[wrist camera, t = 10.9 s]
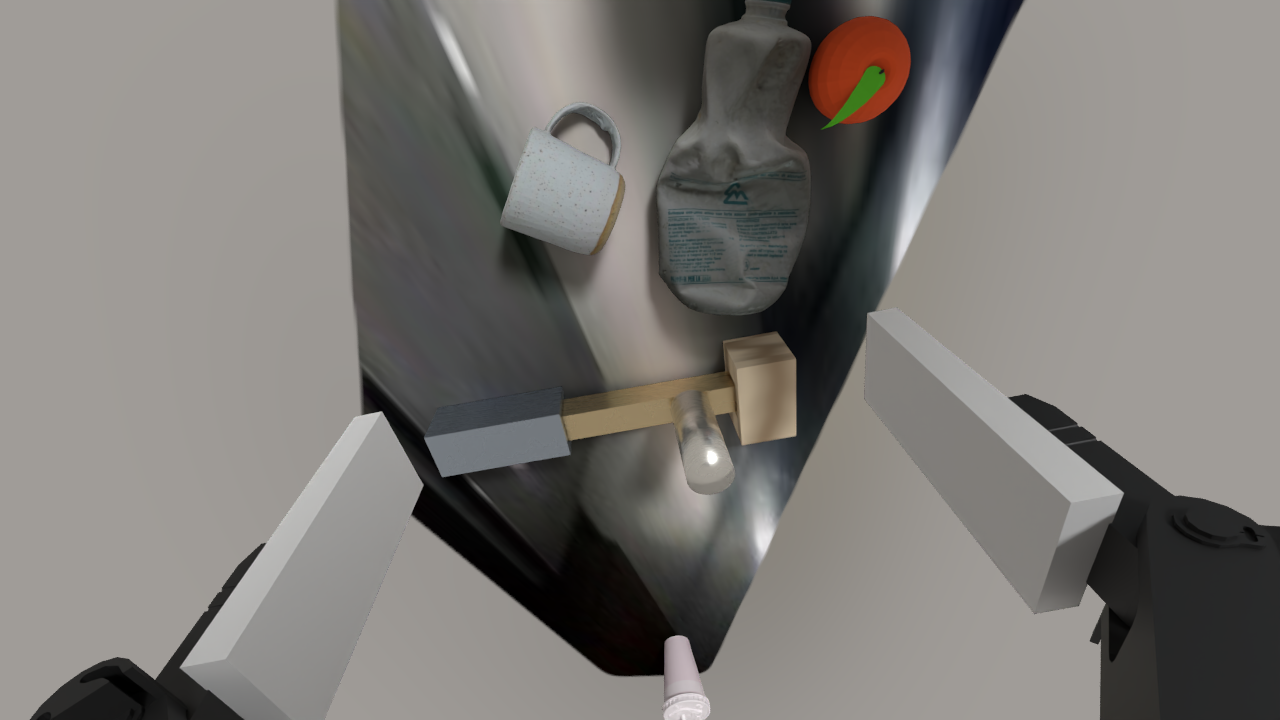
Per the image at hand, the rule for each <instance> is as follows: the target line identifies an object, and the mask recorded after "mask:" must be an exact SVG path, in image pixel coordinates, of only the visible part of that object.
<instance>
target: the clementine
mask: <svg viewBox="0 0 1280 720" xmlns="http://www.w3.org/2000/svg"><path fill="white" fill-rule="evenodd" d="M910 64H911V59H910V49H909V46H908V43H907V40H906V38H905V37H904V35H903V34H902V32H901V31H900V30H899V28H898V27H897V26H896V25H894V24H893V23H892V22H890V21H889V20H887V19H883V18H879V17H874V16H865V17H857V18H854V19H852V20H849V21H847V22H845V23H843V24H841V25H840V26H838V27H837V28H836V29H834V30H833V31H831V32H830V33H829V34H828V35H827V36H826V38H825V39H824V40H823V41H822V42H821V43H820V45H819V47H818V49H817V50H816V52H815V54H814V56H813V59H812V62H811V66H810V69H809V80H808V84H809V91H810V96H811V98H812V100H813V103H814V105H815V106H816V108H817V109H818V110H819V111H820V112H821V113H822V114H823V115H824V116H826V117H828V118H829V119H831V121H830V123H829V124H827V125H826V126H825V127H823V128H822V129H825V128H829V127H832V126H833V125H835V124H837V123H843V124H853V123H862V122H865V121H868V120H870V119H873V118H875V117H876V116H878V115H879V114H881V113H882V112H884V111H885V110H886V109H887V108H888V107H889V106H890V105H891V104H892V103H893V102H894V101H895V100H896V99H897V98H898V96H899V95H900V93H901V91H902V90H903V88H904V86H905V84H906V81H907V78H908V76H909V70H910ZM822 129H821V130H822Z"/></svg>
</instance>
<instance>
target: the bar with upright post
mask: <svg viewBox="0 0 1280 720" xmlns="http://www.w3.org/2000/svg"><path fill="white" fill-rule="evenodd" d="M736 411H737V403H736V390H735V384H734V381H733V379H732V377H731V375H730V373H729V371H724V372H718V373H713V374H707V375H701V376H695V377H690V378H684V379H678V380H673V381H667V382H661V383H655V384H650V385H644V386H638V387H633V388H627V389H621V390H616V391H610V392H604V393H598V394H593V395H587V396H581V397H576V398H570V399H564V400H563V401H562V412H561V417H562V421H563V424H564V428H565V431H566V435H567V438H568V441H570V440H576V439H581V438H587V437H593V436H598V435H604V434H610V433H616V432H621V431H627V430H633V429H639V428H644V427H650V426H656V425H661V424H667V423H673V424H674V428H675V432H676V437H677V441H678V445H679V449H680V454H681V458H682V462H683V467H684V471H685V475H686V480H687V483H688V485H689V487H690V488H691V489H692V490H693V491H695V492H697V493H700V494H705V495H710V494H716V493H719V492H721V491H723V490H725V489H726V488H728V487H729V486H730V485H731V483H732V482H733V480H734V477H735V469H734V467H733V464H732V461H731V458H730V455H729V453H728V450H727V447H726V444H725V442H724V439H723V436H722V433H721V430H720V428H719V425H718V422H717V419H716V417H715V415H719V414H724V413H730V412H736Z"/></svg>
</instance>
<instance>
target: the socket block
mask: <svg viewBox="0 0 1280 720" xmlns="http://www.w3.org/2000/svg"><path fill="white" fill-rule="evenodd" d="M723 349H724V361H725V371H729V373H730V375H731V377H732V379H733V381H734V384H735V390H736V403H737V411H736V412H730V413H729V414H730V417H731V419H732V422H733V424H734V427H735V429H736V432H737V434H738V437H739V439H740V442H741V444H742V445H747V444H753V443H759V442H764V441H770V440H776V439H781V438H787V437H793V436H796V358H795V357H794V355H793V354H792V352H791V351H790V350H789V348H788V347H787V345H786V344H785V343H784V341H783V340H782V338H781V337H780V336H779V334H778V333H777V331H776V332H770V333H765V334H759V335H753V336H748V337H742V338H736V339H730V340H725V341H723Z"/></svg>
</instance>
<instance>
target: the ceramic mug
mask: <svg viewBox="0 0 1280 720" xmlns="http://www.w3.org/2000/svg"><path fill="white" fill-rule="evenodd" d="M570 113H578V114H582V115H584V116H586V117H587V118H589V119H590V120H592V121H594V122H595V123H597V124H598V125H599V126H600V127H601V129H602V130H604V131H608V133H609V134H610V136H611V141H612V144H613V149H612V158H611V162H610V165H607V164H605V163H603V162H602V161H600V160H598V159H595V158H593V157H591V156H589V155H587V154H585V153H583V152H581V151H579V150H577V149H576V148H574V147H572V146H570V145H569V144H567V143H565V142H563V141H561V140H559V139H557V138H555V137H553V136H551V134H550V132H551V130H552V129H553V127H554V126H555V125H556V124H557V122H558V121H559V120H560V119H561V118H563V117H564V116H566V115H568V114H570ZM620 150H621V140H620V135H619V132H618V129H617V127H616V125H615V123H614V121H613V120H612V119H611V118H610V117H609V116H608V114H606V113H605V112H604V111H603V110H601V109H599V108H598V107H596V106H594V105H592V104H589V103H586V102H576V103H572V104H570V105H567V106H565V107H563V108H562V109H560V110H559V111H558V112H557V113H556V114H555V115H554V116H553V117H552V119H551V120H550V122H549V123H548V125H547V127H546V129H545V130H544V131H542V130H540V129H538V128H536V127H534V128H532V129H531V131H530V133H529V137H528V139H527V141H526V145H525V147H524V150H523V153H522V156H521V159H520V162H519V165H518V168H517V171H516V173H515V177H514V180H513V183H512V186H511V189H510V192H509V195H508V199H507V201H506V204H505V207H504V210H503V213H502V218H501V221H500V223H501V225H502V226H504V227H506V228H509V229H512V230H515V231H517V232H520V233H523V234H526V235H528V236H531V237H534V238H536V239H539V240H542V241H545V242H548V243H551V244H554V245H557V246H559V247H562V248H564V249H567V250H570V251H573V252H576V253H581V254H585V255H593V254H596V253H598V252H599V251H600V250H601V249H602V248H603V246H604V245H605V243H606V241H607V239H608V237H609V235H610V233H611V231H612V229H613V227H614V224H615V222H616V219H617V216H618V213H619V210H620V208H621V204H622V201H623V197H624V192H625V182H624V179H623V177H622V175H621V174H619V173H618V172H617V171H616V169H615V168H616V165H617V163H618V160H619V156H620Z"/></svg>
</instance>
